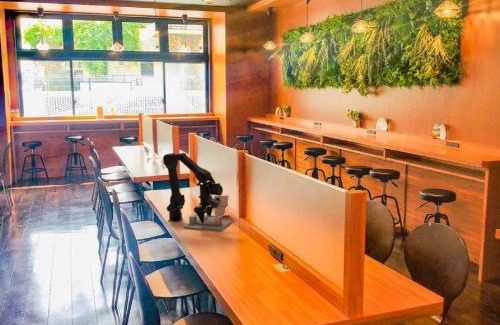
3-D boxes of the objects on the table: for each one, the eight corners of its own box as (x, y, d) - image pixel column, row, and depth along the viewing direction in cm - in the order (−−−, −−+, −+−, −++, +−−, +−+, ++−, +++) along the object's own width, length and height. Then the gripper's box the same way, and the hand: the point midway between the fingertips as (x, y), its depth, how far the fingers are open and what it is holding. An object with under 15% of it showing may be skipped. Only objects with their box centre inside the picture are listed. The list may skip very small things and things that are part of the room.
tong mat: (183, 228, 274) (183, 219, 273) (197, 219, 292) (197, 211, 291) (220, 231, 267) (220, 222, 266) (232, 222, 285) (232, 213, 284)
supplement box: (229, 214, 301) (228, 193, 298) (228, 217, 296) (227, 195, 294) (215, 214, 301) (215, 193, 299) (214, 216, 297) (213, 195, 294)
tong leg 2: (198, 222, 282) (198, 215, 281) (199, 221, 283) (199, 214, 283) (221, 223, 278) (221, 216, 277) (222, 223, 279) (221, 216, 278)
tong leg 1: (196, 223, 279) (196, 216, 279) (197, 222, 280) (197, 216, 280) (219, 225, 275) (219, 218, 274) (220, 224, 276) (220, 217, 275)
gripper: (211, 198, 266) (212, 226, 268) (224, 191, 283) (225, 217, 286) (192, 197, 269) (194, 225, 272) (206, 190, 287) (207, 216, 289)
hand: (206, 220), depth 279 cm, fingers open, 9 cm apart
